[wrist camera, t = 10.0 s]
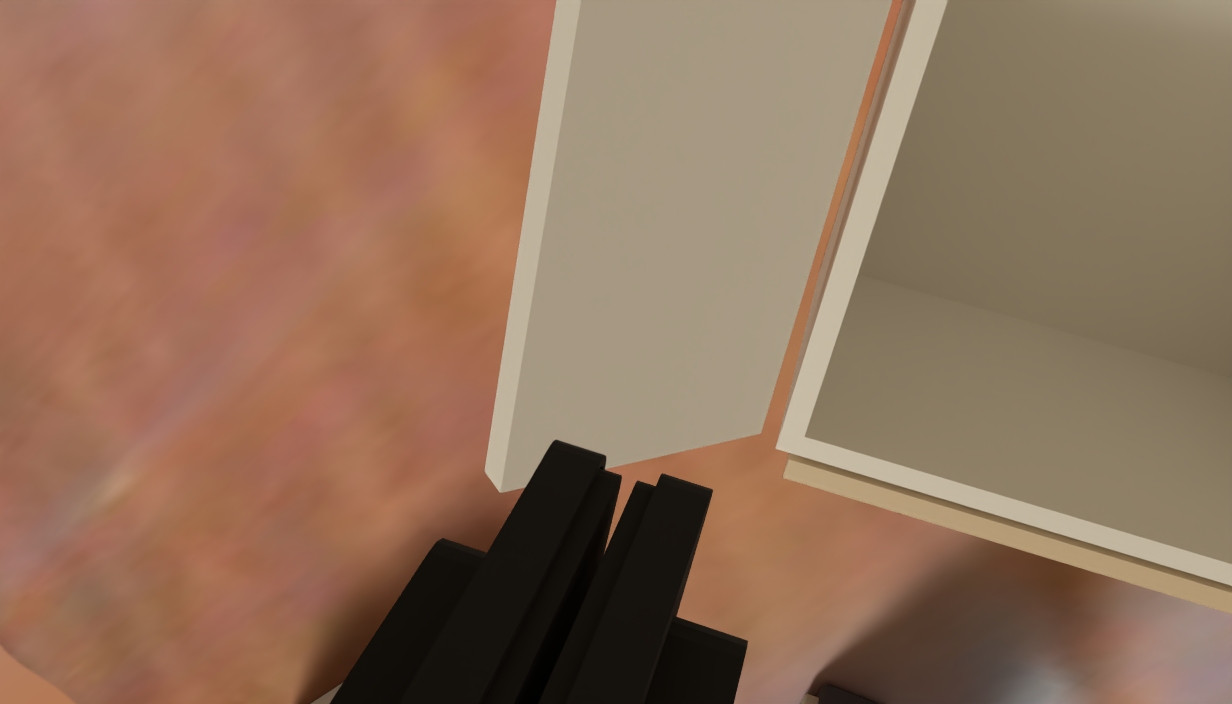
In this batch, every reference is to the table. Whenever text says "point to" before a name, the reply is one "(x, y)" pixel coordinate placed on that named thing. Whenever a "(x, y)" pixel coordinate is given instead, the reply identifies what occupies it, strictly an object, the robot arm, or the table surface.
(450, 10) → the table surface
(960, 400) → the carton
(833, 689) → the black rectangular block
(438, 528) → the table surface
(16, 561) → the table surface
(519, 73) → the table surface
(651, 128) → the carton flap
